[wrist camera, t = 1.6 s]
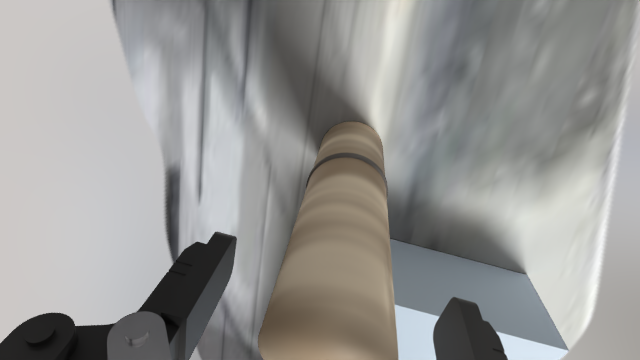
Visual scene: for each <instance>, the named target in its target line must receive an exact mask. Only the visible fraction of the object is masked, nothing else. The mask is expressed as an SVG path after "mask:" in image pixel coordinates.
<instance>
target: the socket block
mask: <svg viewBox="0 0 640 360" xmlns="http://www.w3.org/2000/svg"><path fill="white" fill-rule="evenodd" d="M390 250H391V263H392V276H393V289H394V303H395V316H396V329H397V342H398V360H436V354H435V349H434V343H433V331H434V326H435V324H436V322H437V320H438V319H439V317H440V315H441V314H442V312H443V311H444V309H445V307H446V306H447V304H448V302H449V301H450V299H451V298H453V297H457V298H460V299H464V300H468V301H471V302H475V303H476V304H477V305H478V307H479V310H480V313H481V316H482V319H483V320H484V321H488V322H489V323H490V324H491V326H492V327H493V329H494V330H495V331H496V333H497V334H498V335H499V337H500V340H501V342H502V345H503V348H504V350H505V354H506V356H507V358H508V360H560V359H561V358H562V357H563V356H564V355H565V354H566V353H568V352H569V350H568V348H567V346H566V344H565V342H564V341H563V339H562V337H561V335H560V333H559V332H558V330H557V328H556V326H555V324H554V322H553V321H552V319H551V317H550V315H549V313H548V312H547V310H546V308H545V306H544V304H543V303H542V301H541V299H540V297H539V295H538V293H537V292H536V290H535V288H534V286H533V284H532V283H531V281H530V279H529V277H528V275H525V274H522V273H518V272H514V271H510V270H506V269H503V268H499V267H495V266H491V265H487V264H484V263H480V262H476V261H472V260H469V259H465V258H461V257H457V256H453V255H450V254H446V253H442V252H438V251H435V250H431V249H427V248H423V247H419V246H416V245H412V244H408V243H404V242H400V241H397V240H393V239H390Z"/></svg>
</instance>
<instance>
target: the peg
mask: <svg viewBox="0 0 640 360" xmlns="http://www.w3.org/2000/svg"><path fill="white" fill-rule="evenodd" d="M387 195H388V188H387V181H386V178H385V170H384V157H383V146H382V142H381V139H380V137H379V136H378V134H377V133H376V132H375V131H374V130H373V129H372V128H371V127H369V126H368V125H366V124H363V123H360V122H355V121H347V122H342V123H339V124H337V125H335V126H334V127H332V128H331V129H330V130H329V131H328V132H327V133H326V134H325V136H324V138H323V140H322V143H321V146H320V149H319V152H318V155H317V158H316V161H315V164H314V167H313V169H312V171H311V173H310V175H309V178H308V181H307V185H306V192H305V195H304V198H303V201H302V204H301V207H300V210H299V213H298V216H297V219H296V222H295V225H294V229H293V232H292V235H291V238H290V241H289V244H288V247H287V250H286V253H285V256H284V259H283V262H282V265H281V268H280V271H279V274H278V278H277V281H276V284H275V287H274V290H273V293H272V296H271V299H270V302H269V305H268V308H267V311H266V314H265V317H264V320H263V323H262V326H261V330H260V333H259V336H258V347H259V351H260V353H261V356H262V358H263V359H264V360H398V342H397V329H396V316H395V303H394V289H393V276H392V263H391V250H390V236H389V223H388V210H387Z"/></svg>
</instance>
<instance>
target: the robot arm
mask: <svg viewBox="0 0 640 360" xmlns="http://www.w3.org/2000/svg"><path fill="white" fill-rule="evenodd" d="M236 241H237V238H236V237H235V236H231V235H228V234H224V233H220V232H215V233H214V234H213V236H212V237H211V239H210V240H209V242H208V243H207V244H204V243H200V242H196V243H194V244H193V245H191V246H189V247H188V248H186V249H185V250H184V251H183V252H182V253H181V255H180V256H179V257H178V259H177V260H176V262H175V263H174V264H173V265H172V267H171V268H170V269H169V272H167V273H166V275H165V276H164V277H163V279H162V280H161V281H160V283H159V284H158V285H157V287H156V288H155V289H154V291H153V292H152V293H151V295H150V296H149V297H148V299H147V300H146V302H145V303H144V304H143V305H142V307H141V308H140V309H139V310H138V311H137V312H136V313H132V314H129V315H127V316H125V317H123V318H122V319H120V320H119V321H118V322H117V323H114V324H109V325H91V326H75V324H74V321H73V320H72V319H71V318H70V317H69V316H67V315H65V314H61V313H46V314H42V315H38V316H36V317H33V318H31V319H29V320H27V321H25V322H24V323H22V324H21V325H19V326H18V327H17V328H16V329H14V330H13V331H12V332H11V333H10V334H9V335H8V336H7V337H6V338H5V339H4V340H3V341H2V342H1V343H0V360H189V359H190V357H191V355H192V353H193V351H194V349H195V347H196V345H197V343H198V341H199V339H200V337H201V335H202V333H203V331H204V329H205V327H206V325H207V324H208V322H209V320H210V318H211V316H212V314H213V312H214V310H215V308H216V306H217V304H218V302H219V300H220V298H221V296H222V294H223V292H224V290H225V288H226V286H227V284H228V282H229V279H230V277H231V274H232V270H233V264H234V257H235V249H236ZM433 343H434V349H435V354H436V360H508V358H507V356H506V354H505V350H504V348H503V345H502V342H501V340H500V337H499V335H498V334H497V333H496V331H495V330H494V329H493V327H492V326H491V324H490V323H489V322H488V321H484V320H483V319H482V316H481V313H480V310H479V307H478V305H477V304H476V303H475V302H471V301H468V300H464V299H460V298H457V297H453V298H451V299H450V301H449V302H448V304H447V306H446V307H445V309H444V311H443V312H442V314H441V315H440V317H439V319H438V320H437V322H436V324H435V326H434V331H433Z"/></svg>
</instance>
